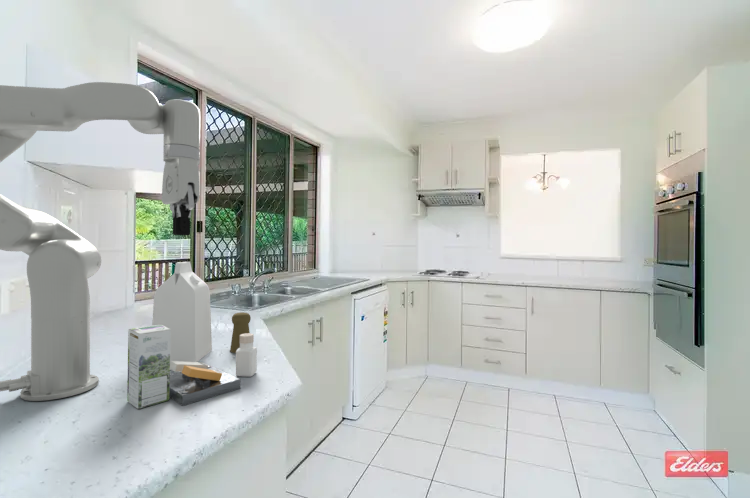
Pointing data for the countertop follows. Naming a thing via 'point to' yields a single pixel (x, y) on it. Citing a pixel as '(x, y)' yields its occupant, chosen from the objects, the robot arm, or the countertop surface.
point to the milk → (185, 314)
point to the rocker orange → (201, 373)
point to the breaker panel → (200, 387)
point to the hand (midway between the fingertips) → (181, 234)
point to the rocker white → (179, 365)
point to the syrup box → (148, 365)
